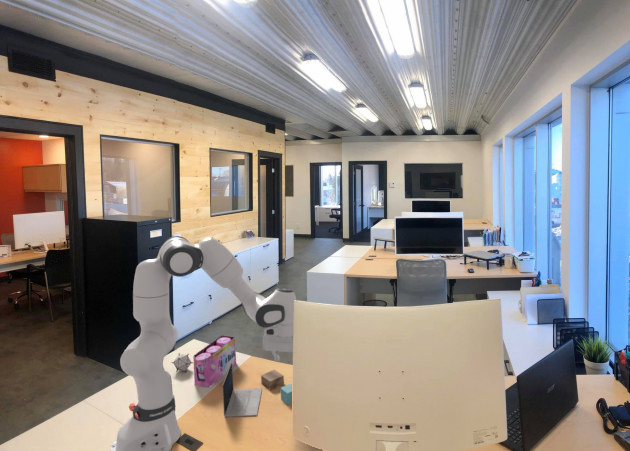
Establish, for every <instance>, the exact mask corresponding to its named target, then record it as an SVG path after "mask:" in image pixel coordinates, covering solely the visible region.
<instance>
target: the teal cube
mask: <svg viewBox="0 0 630 451" xmlns="http://www.w3.org/2000/svg"><path fill="white" fill-rule="evenodd" d="M292 385H293V384H292V383H290V384H287V385H284V386H282V387H280V399H281V401H283V402H284V403H285V404H286V405H287V406H288V405H290V404H293V403H292Z"/></svg>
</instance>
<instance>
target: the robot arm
mask: <svg viewBox="0 0 630 451" xmlns="http://www.w3.org/2000/svg"><path fill="white" fill-rule="evenodd" d="M199 269H202V270H203V271H204V273H206V275H208V277H209V278H210V279H211V280H212V281H213V282H215V284H216V285H219V286H220V287H221V288H223V289H228V290H229V291H231V293H233V294H234V296H235V297H236V298H237V299H238V300H239V301H240V303H241V306H242V308H243V309H242V310H243V311H244V313H245V315H246V316H247V317H248V318H250V319H251V320H252V321H253V322H254V323H255V324H257V325H258V326H259V327H261V328H264V330H263V333H264V334H263V336H262V344H261V345H262V349H263V351H266V352H271V355H272V356H273V358H274V361H275V362H279V361H280V360H281V358H280V354H279V355H278V354H277V352H280V353H282V352H284V353H294V352H293V301H294V300H296V301H297V297H296V296H297V295H296V293H295V291H294V290H292V289H290V288H287V287H278V288H275V290H274V292H273V293H271V294H270V295H269V296H268V297H265V296H264V295H263V294H261V293H259V292H256V291H254V290H253V289H252V288H251V287H250V286H249V284H248V283H247V282H246V281H245V280H244V279H243V274H244V269H243V266H242V265H241V264H240V262H239V260H238V259H237V257H236V256H234V255H233V253H232V252H231V251H230V250H229V249H228V248H227V247H226V246H225V245H224V244H222V243H221V242H220V241H219V240H217V239H216V238H214V237H207V238H203V239H202V240H200V241H199V242H198V243H194V244H193V243H190V241H189V240H188V239H187V238H185V237H183V236H179V235H174V236H171V237H170V236H169V237H168V238H166V239H165V240H164V241H163V242H162V244H161V246H160V247H159V248H158V250H157V252H156V253H155V255H154V258H151V259H150V258H149V259H145V260H143V261H141V262H139V263H138V265H137V266H136V268H135V273H134V279H133V286H132V288H133V290H132V301H133V302H132V304H133V306H132V307H133V308H132V311H133V312H132V315H133V318H134V319H135V320H136V321H137V322H138V323H139V326H140V333H139V334H140V335H139V336H138V337H137V338H136V339H134V340H133V341H131V342H130V344H128V346H127V347H126V349H124V351H123V353H122V354H121V356H120V359H119V360H120V361H119V362H120V363H119V364H120V367H121V370H122V371H123V372H124V373H125V374H126V375H127V376H130V377H132V378H133V379H134V382H135V385H136V392H137V393H136V394H137V401H138V402H137V404H135V403H134V402H132V403H130V404H129V405H128V408H129V410H130V412H132V416H131V417H130V418H128V420H126V422H125V423H124V424H123V425H122V426H120V428H119V429H118V431H117V435H116V440H114V441H112V443H111V444H110V447H109V451H171V450H172V447H173V446H174V444H175V443H176V442H177V441H178V440H179V438H180V437H181V435H182V430H181V428H180V426H179V422H178V419H177V416H176V399H175V395H174V393H173V392H174V391H173V381H172V379H173V378H172V375H171V374H170V372H168V371H166V369H165V367H164V359H165V358H166V356H167V355H168V354H169V353H170V351H172V350H173V348H174V346H175V344H176V342H177V340H178V337H179V336H178V335H179V333H178V330H177V328H176V327H175V325H173V324H172V320H171V319H172V318H171V316H170V315H171V314H170V280H171V277H172V276H173V277H179V278H180V277H185V276H188V275H190V274H192V273H193V272H195V271H197V270H199Z"/></svg>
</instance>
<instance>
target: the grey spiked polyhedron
mask: <svg viewBox="0 0 630 451" xmlns="http://www.w3.org/2000/svg"><path fill="white" fill-rule="evenodd" d="M189 354H190V353H187V354H181V353H178V356H176V358H175V359H174V360H173V361H172V362H171V364H173V365H174V367H175V368H176V372H177V373H178V371H181V372H185V373H187V370H188V369H189V367H190V366H191V364H194V361H191V359H190V357H189Z"/></svg>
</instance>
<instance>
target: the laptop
mask: <svg viewBox="0 0 630 451" xmlns="http://www.w3.org/2000/svg"><path fill="white" fill-rule="evenodd" d="M221 388H222V402H223V403H222V404H223V405H222V406H223V416H224V418H231V417H232V418H238V417H239V418H240V417H252V416H258V412H259V406H260V402H261V396H262V391H263V388H244V389H234V378H233V367H232V363H231V365H230V367H229V370H228V371H227V372H226V375H225V378H224V381H223V383H222V386H221Z"/></svg>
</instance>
